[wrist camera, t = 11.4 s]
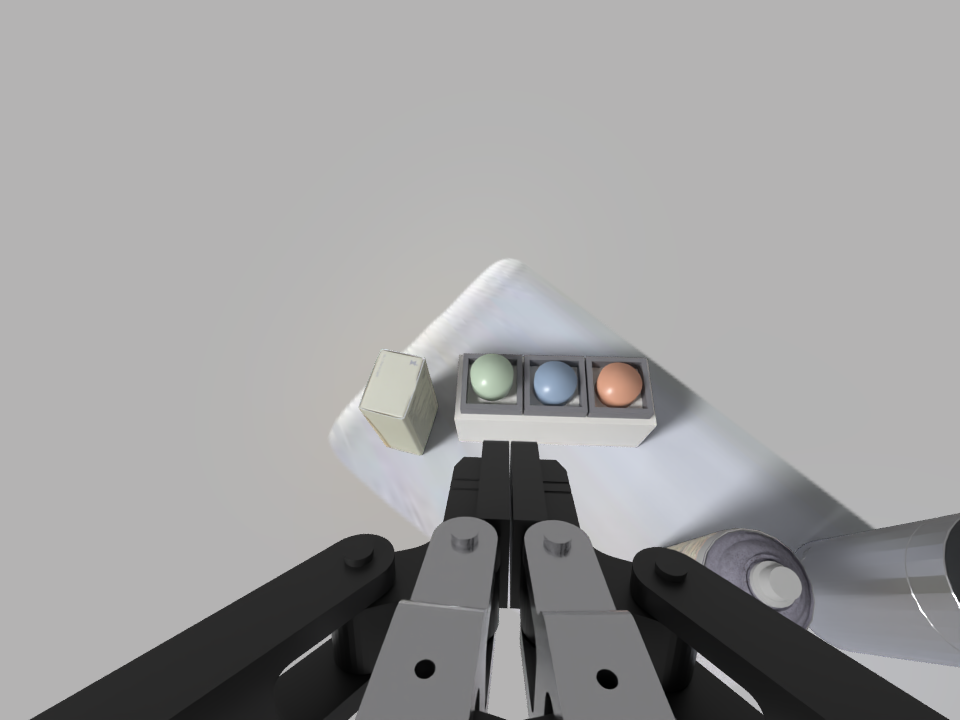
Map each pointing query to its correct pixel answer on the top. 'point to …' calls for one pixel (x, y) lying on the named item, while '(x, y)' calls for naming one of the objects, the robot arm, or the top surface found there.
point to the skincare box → (400, 401)
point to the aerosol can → (757, 569)
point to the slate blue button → (554, 383)
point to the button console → (554, 407)
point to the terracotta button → (618, 385)
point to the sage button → (491, 377)
